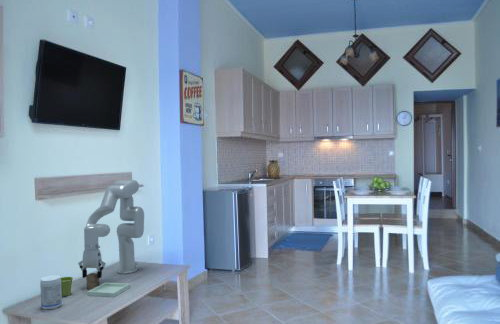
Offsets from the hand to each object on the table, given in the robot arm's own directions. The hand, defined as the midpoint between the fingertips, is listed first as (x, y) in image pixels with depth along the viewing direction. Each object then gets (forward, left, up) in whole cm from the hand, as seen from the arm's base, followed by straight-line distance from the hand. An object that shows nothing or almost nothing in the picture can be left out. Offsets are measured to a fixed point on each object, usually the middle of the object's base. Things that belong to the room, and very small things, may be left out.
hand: (92, 277), depth 236 cm
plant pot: (+12, -9, -7) cm, 17 cm away
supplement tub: (+29, -3, -7) cm, 30 cm away
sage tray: (+3, +13, -6) cm, 15 cm away
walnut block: (-1, 0, -6) cm, 6 cm away
